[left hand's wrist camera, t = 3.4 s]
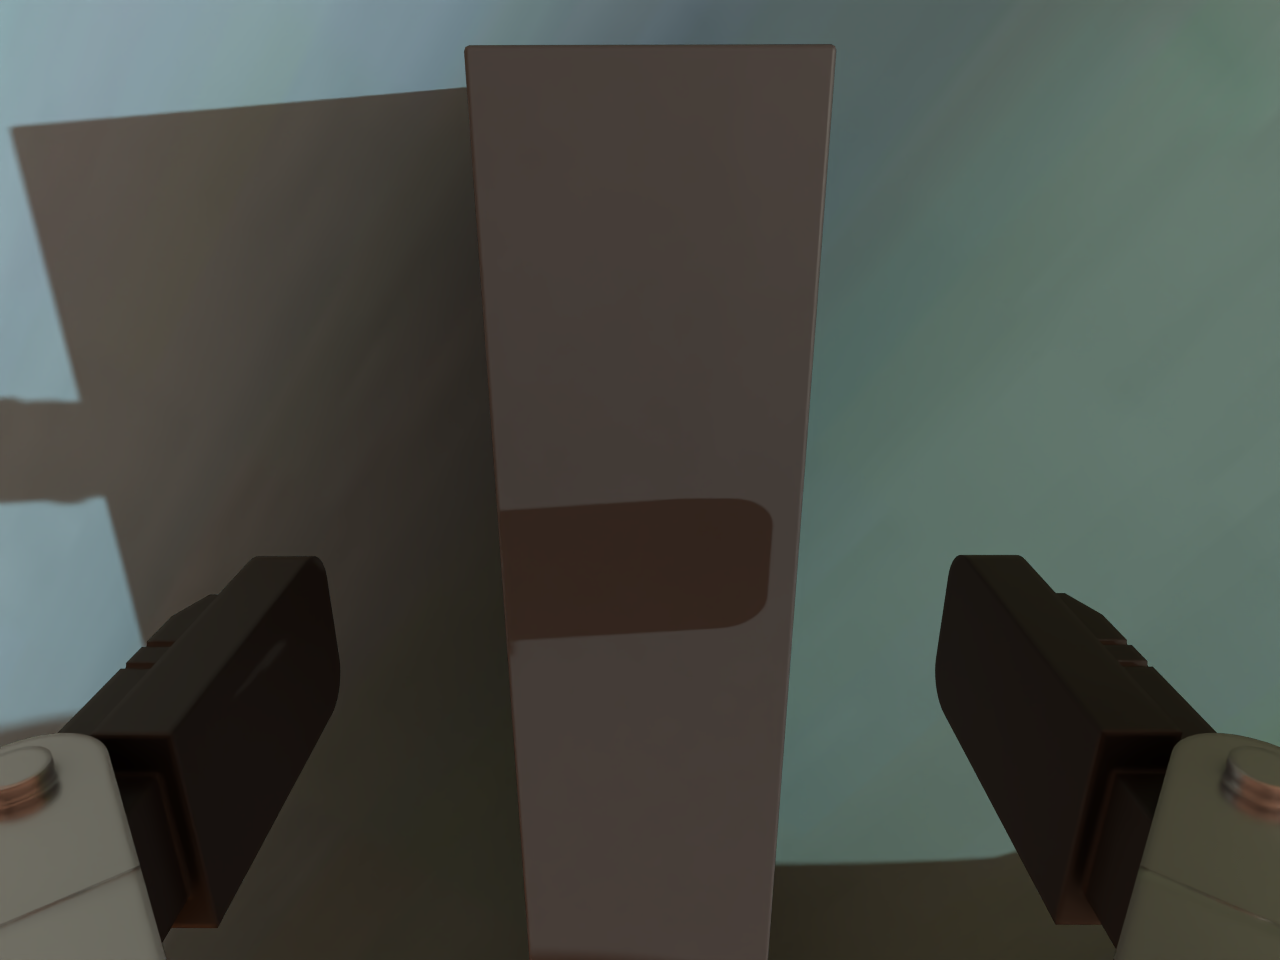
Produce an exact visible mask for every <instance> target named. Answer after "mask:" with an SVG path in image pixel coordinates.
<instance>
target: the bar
mask: <svg viewBox="0 0 1280 960" xmlns="http://www.w3.org/2000/svg"><path fill="white" fill-rule="evenodd" d="M464 57H465V70H466V84H467V98H468V112H469V126H470V140H471V154H472V168H473V182H474V196H475V210H476V224H477V238H478V252H479V265H480V279H481V293H482V307H483V321H484V335H485V349H486V363H487V377H488V391H489V405H490V419H491V433H492V447H493V460H494V474H495V488H496V502H497V516H498V530H499V544H500V558H501V572H502V586H503V600H504V614H505V628H506V642H507V656H508V669H509V683H510V697H511V711H512V725H513V739H514V753H515V767H516V781H517V795H518V809H519V823H520V837H521V851H522V864H523V878H524V892H525V906H526V920H527V934H528V948H529V960H768V951H769V938H770V925H771V912H772V898H773V885H774V872H775V858H776V845H777V832H778V819H779V805H780V792H781V779H782V765H783V752H784V739H785V725H786V712H787V699H788V686H789V672H790V659H791V646H792V632H793V619H794V606H795V593H796V579H797V566H798V553H799V539H800V526H801V513H802V499H803V486H804V473H805V460H806V446H807V433H808V420H809V406H810V393H811V380H812V367H813V353H814V340H815V327H816V313H817V300H818V287H819V273H820V260H821V247H822V234H823V220H824V207H825V194H826V180H827V167H828V154H829V141H830V127H831V114H832V101H833V87H834V74H835V61H836V48H835V46H834V45H832V44H764V45H469V46H467V47H465V50H464Z"/></svg>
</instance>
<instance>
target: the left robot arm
mask: <svg viewBox="0 0 1280 960" xmlns="http://www.w3.org/2000/svg"><path fill="white" fill-rule="evenodd" d="M935 678H936V688H937V694H938V698H939V702H940V705H941V708H942V710H943V712H944V714H945V716H946V718H947V720H948V722H949V724H950V726H951V728H952V729H953V731H954V733H955V735H956V737H957V739H958V741H959V743H960V745H961V746H962V748H963V750H964V752H965V754H966V756H967V758H968V760H969V762H970V764H971V765H972V767H973V769H974V771H975V773H976V775H977V777H978V779H979V781H980V782H981V784H982V786H983V788H984V790H985V792H986V794H987V796H988V798H989V799H990V801H991V803H992V805H993V807H994V809H995V811H996V813H997V815H998V817H999V818H1000V820H1001V822H1002V824H1003V826H1004V828H1005V830H1006V832H1007V834H1008V835H1009V837H1010V839H1011V841H1012V843H1013V845H1014V847H1015V849H1016V851H1017V852H1018V854H1019V856H1020V858H1021V860H1022V862H1023V864H1024V866H1025V868H1026V870H1027V871H1028V873H1029V875H1030V877H1031V879H1032V881H1033V883H1034V885H1035V887H1036V888H1037V890H1038V892H1039V894H1040V896H1041V898H1042V900H1043V902H1044V904H1045V905H1046V907H1047V909H1048V911H1049V913H1050V915H1051V917H1052V919H1053V921H1054V923H1055V924H1056V925H1102V926H1103V928H1104V929H1105V931H1106V933H1107V934H1108V936H1109V938H1110V940H1111V941H1112V943H1113V945H1114V946H1115V948H1116V952H1115V955H1114V959H1113V960H1280V747H1278V746H1275V745H1273V744H1270V743H1267V742H1264V741H1260V740H1257V739H1253V738H1249V737H1244V736H1240V735H1233V734H1225V733H1217V732H1216V731H1215V730H1214V729H1213V728H1212V727H1211V726H1210V725H1209V724H1208V723H1207V722H1206V721H1205V720H1204V719H1203V718H1202V717H1201V716H1200V715H1199V714H1198V713H1197V712H1196V711H1195V710H1194V709H1193V708H1192V707H1191V706H1190V705H1189V704H1188V703H1187V702H1186V701H1185V699H1184V698H1183V697H1182V696H1181V695H1180V694H1179V693H1178V692H1177V691H1176V690H1175V689H1174V688H1173V687H1172V686H1171V685H1170V684H1169V683H1168V682H1167V681H1166V680H1165V679H1164V678H1163V677H1162V676H1161V675H1160V674H1159V673H1158V672H1157V671H1156V670H1155V669H1154V668H1153V667H1148V665H1147V660H1146V659H1145V658H1144V657H1143V656H1142V655H1141V654H1140V653H1139V652H1138V651H1137V650H1136V649H1135V648H1134V647H1133V646H1132V645H1127V640H1126V639H1125V638H1124V637H1123V636H1122V635H1121V633H1120V632H1119V631H1118V630H1117V629H1116V628H1115V627H1114V626H1113V625H1112V624H1111V623H1110V622H1109V621H1108V620H1107V619H1106V618H1105V617H1104V616H1103V615H1102V614H1100V613H1098V612H1097V611H1095V610H1093V609H1091V608H1090V607H1088V606H1086V605H1084V604H1083V603H1081V602H1079V601H1077V600H1076V599H1074V598H1072V597H1070V596H1069V595H1067V594H1065V593H1055V592H1054V591H1053V590H1052V589H1051V587H1050V586H1049V585H1048V584H1047V583H1046V582H1045V581H1044V580H1043V579H1042V578H1041V576H1040V575H1039V574H1038V573H1037V572H1036V571H1035V570H1034V569H1033V568H1032V567H1031V566H1030V564H1029V563H1028V562H1027V561H1026V560H1025V559H1024V558H1023V557H1021V556H1019V555H959V556H957V557H956V558H955V559H954V560H953V562H952V564H951V567H950V571H949V576H948V582H947V589H946V595H945V602H944V609H943V615H942V622H941V629H940V636H939V642H938V649H937V656H936V664H935ZM339 685H340V661H339V654H338V648H337V641H336V634H335V628H334V621H333V615H332V608H331V601H330V595H329V588H328V582H327V576H326V571H325V568H324V565H323V563H322V561H321V560H320V559H319V558H318V557H316V556H258V557H254V558H252V559H251V560H250V561H249V562H248V563H247V564H246V565H245V567H244V568H243V569H242V570H241V571H240V572H239V573H238V574H237V575H236V576H235V577H234V578H233V580H232V581H231V582H230V583H229V584H228V585H227V586H226V587H225V588H224V589H223V590H222V591H221V593H220V594H219V595H208V596H207V597H205V598H203V599H201V600H200V601H198V602H196V603H194V604H193V605H191V606H189V607H187V608H186V609H184V610H182V611H180V612H179V613H177V614H175V615H173V616H172V617H171V618H170V619H169V620H168V621H167V622H166V623H165V624H164V625H163V626H162V627H161V628H160V629H159V630H158V631H157V632H156V633H155V634H154V635H153V636H152V637H151V638H150V639H149V640H148V641H147V647H141V648H140V649H139V650H138V652H137V653H136V654H135V655H134V656H133V657H132V658H131V659H130V660H129V661H128V662H127V663H126V668H125V669H120V670H119V671H118V672H117V673H116V674H115V675H114V676H113V677H112V678H111V679H110V680H109V681H108V682H107V683H106V684H105V685H104V686H103V687H102V688H101V689H100V690H99V691H98V692H97V693H96V694H95V695H94V696H93V697H92V699H91V700H90V701H89V702H88V703H87V704H86V705H85V706H84V707H83V708H82V709H81V710H80V711H79V712H78V713H77V714H76V715H75V716H74V717H73V718H72V719H71V720H70V721H69V722H68V723H67V724H66V725H65V726H64V727H63V728H62V729H61V730H60V731H59V732H58V733H55V734H47V735H40V736H36V737H31V738H27V739H23V740H20V741H16V742H13V743H10V744H7V745H5V746H2V747H0V960H167V959H166V955H165V952H164V948H163V945H162V942H163V940H164V939H165V937H166V935H167V934H168V932H169V930H170V929H171V928H218V926H219V924H220V922H221V920H222V919H223V917H224V915H225V913H226V911H227V909H228V907H229V905H230V904H231V902H232V900H233V898H234V896H235V894H236V892H237V891H238V889H239V887H240V885H241V883H242V881H243V879H244V877H245V876H246V874H247V872H248V870H249V868H250V866H251V864H252V862H253V861H254V859H255V857H256V855H257V853H258V851H259V849H260V848H261V846H262V844H263V842H264V840H265V838H266V836H267V834H268V833H269V831H270V829H271V827H272V825H273V823H274V821H275V819H276V818H277V816H278V814H279V812H280V810H281V808H282V806H283V805H284V803H285V801H286V799H287V797H288V795H289V793H290V791H291V790H292V788H293V786H294V784H295V782H296V780H297V778H298V776H299V775H300V773H301V771H302V769H303V767H304V765H305V763H306V762H307V760H308V758H309V756H310V754H311V752H312V750H313V748H314V747H315V745H316V743H317V741H318V739H319V737H320V735H321V733H322V732H323V730H324V728H325V726H326V724H327V722H328V720H329V719H330V717H331V715H332V713H333V711H334V708H335V705H336V701H337V698H338V693H339Z"/></svg>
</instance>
